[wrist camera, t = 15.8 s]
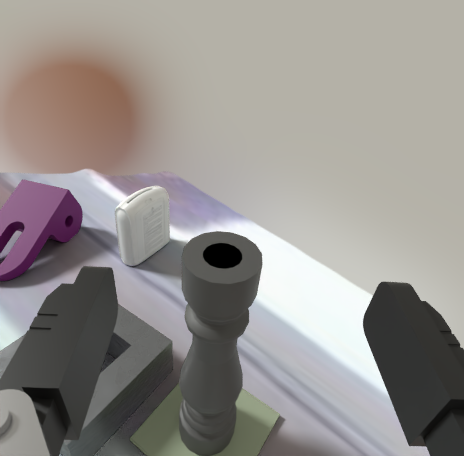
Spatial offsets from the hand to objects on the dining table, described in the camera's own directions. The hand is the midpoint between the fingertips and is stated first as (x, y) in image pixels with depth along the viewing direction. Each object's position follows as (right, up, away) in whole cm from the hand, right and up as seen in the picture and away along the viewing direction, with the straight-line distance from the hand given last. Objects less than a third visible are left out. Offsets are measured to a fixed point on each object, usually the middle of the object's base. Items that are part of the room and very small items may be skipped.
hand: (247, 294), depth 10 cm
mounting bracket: (-36, -2, +51) cm, 62 cm away
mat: (-3, -21, +28) cm, 35 cm away
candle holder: (-3, -20, +28) cm, 35 cm away
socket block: (-18, -17, +32) cm, 40 cm away
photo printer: (-16, -2, +53) cm, 55 cm away
